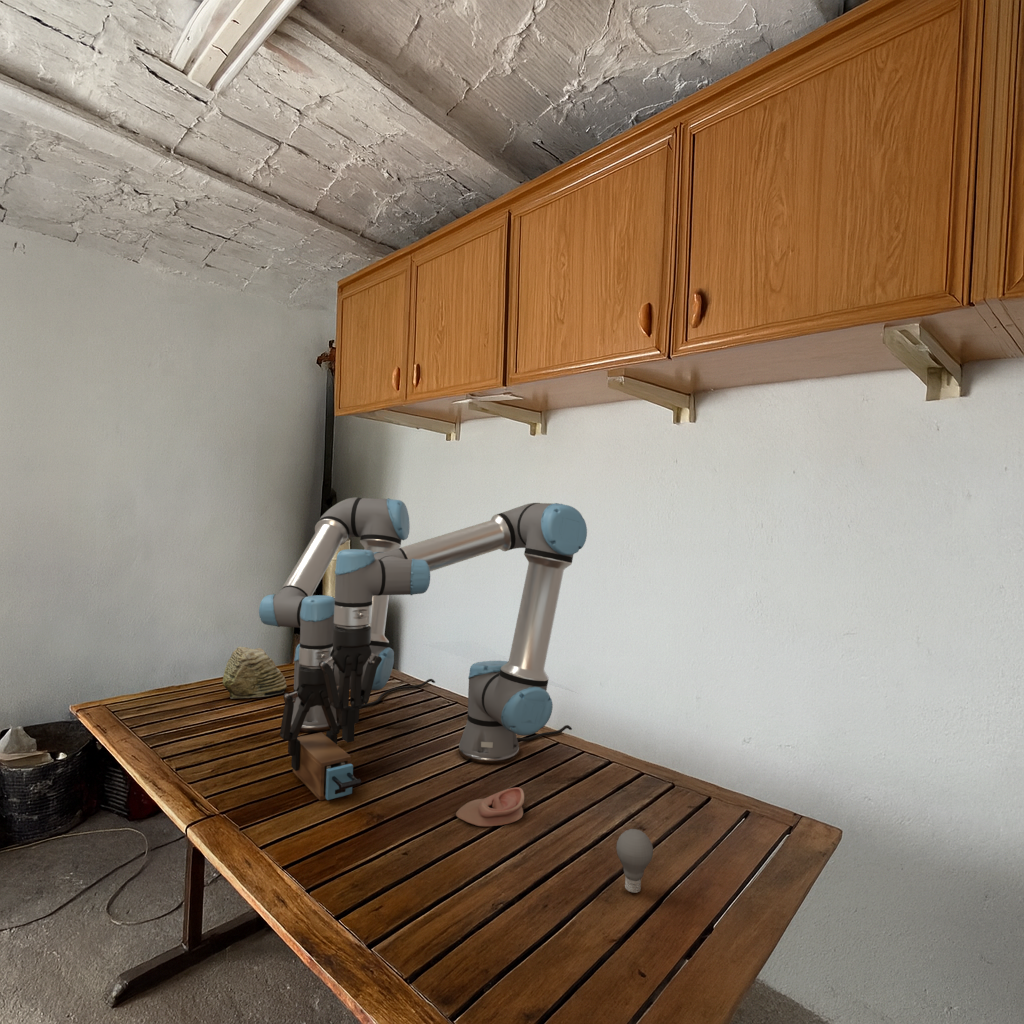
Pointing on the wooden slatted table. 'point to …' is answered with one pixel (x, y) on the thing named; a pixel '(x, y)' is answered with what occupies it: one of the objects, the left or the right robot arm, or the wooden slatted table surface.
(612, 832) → the wooden slatted table surface
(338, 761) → the cabinet
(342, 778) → the drawer
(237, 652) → the fossil
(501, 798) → the anatomical model
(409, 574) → the right robot arm
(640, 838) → the light bulb
